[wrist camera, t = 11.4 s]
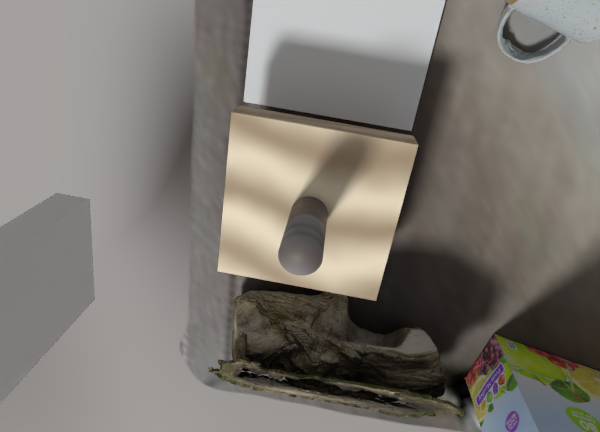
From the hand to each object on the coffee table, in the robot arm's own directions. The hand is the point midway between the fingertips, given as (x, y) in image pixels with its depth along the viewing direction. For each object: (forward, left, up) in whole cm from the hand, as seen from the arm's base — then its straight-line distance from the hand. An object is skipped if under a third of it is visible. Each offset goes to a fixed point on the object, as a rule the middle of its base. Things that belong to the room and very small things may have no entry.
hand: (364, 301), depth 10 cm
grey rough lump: (+30, +4, -37) cm, 48 cm away
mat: (-5, -2, -37) cm, 37 cm away
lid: (+11, -2, -32) cm, 34 cm away
